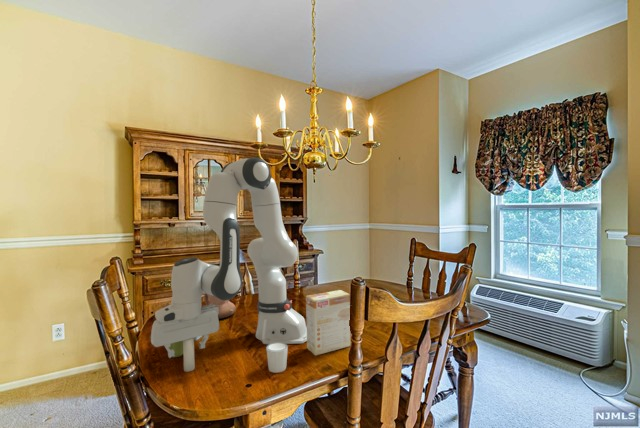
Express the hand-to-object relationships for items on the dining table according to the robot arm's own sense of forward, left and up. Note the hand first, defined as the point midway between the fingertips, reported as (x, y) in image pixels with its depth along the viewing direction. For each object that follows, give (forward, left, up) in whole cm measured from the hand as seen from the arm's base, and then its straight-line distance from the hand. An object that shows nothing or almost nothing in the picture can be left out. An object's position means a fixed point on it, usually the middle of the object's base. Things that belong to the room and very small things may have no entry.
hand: (187, 352), depth 100 cm
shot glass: (-28, -5, -6) cm, 29 cm away
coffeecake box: (-42, -22, -6) cm, 48 cm away
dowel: (0, 0, -6) cm, 6 cm away
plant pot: (+10, -9, -6) cm, 15 cm away
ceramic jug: (+15, -47, -6) cm, 50 cm away
